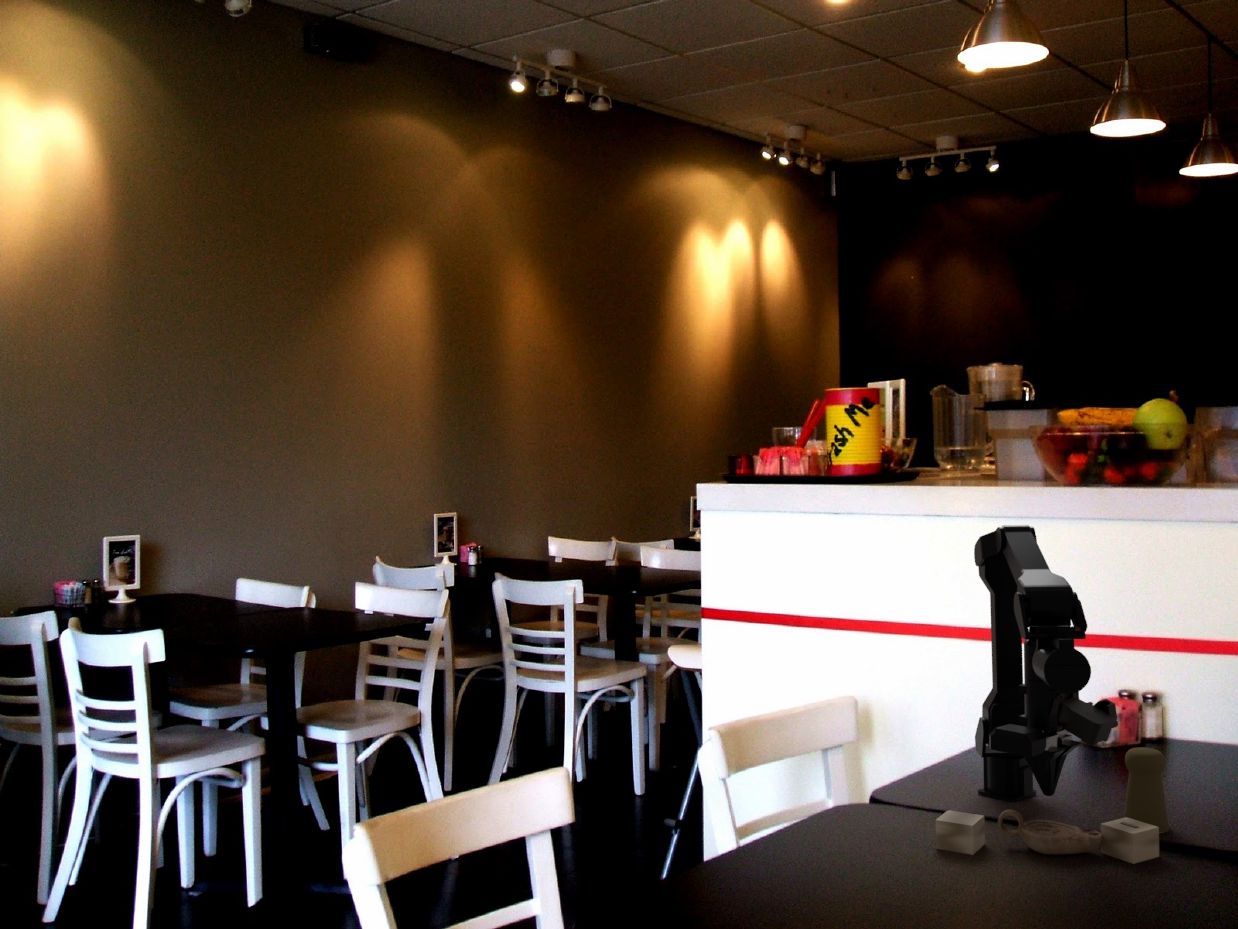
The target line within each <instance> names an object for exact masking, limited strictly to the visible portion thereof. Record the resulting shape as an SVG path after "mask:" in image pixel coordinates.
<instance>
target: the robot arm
mask: <svg viewBox="0 0 1238 929" xmlns="http://www.w3.org/2000/svg"><path fill="white" fill-rule="evenodd" d="M974 544H975V545H974V548H973V549H974V551H973V554H974V555H973V557H974V558H973V559H974V563H975V566H976V567H978V576H979V578H980V580H981V581H982V583H983V584H984V586H985V588H986V589H987V591H989V598H990V599H989V600H990V605H989V606H990V636H991V638H990V639H991V640H990V641H991V642H990V643H991V671H992V673H991V675H992V677H991V678H992V688H991V691H989V693H988V694H987V697H986V698H985V699H984V701H983V703H982V706H981V707H982V710H981V712H982V713H981V714H982V715H981V716H980V717H979V720H978V722H977V727H976V730H975V735H974V741H975V745H974V746H975V751H976V752H977V754H978V755H979V756H980V757H981V758H982V759H983V760H982V762H983V764H982V766H983V768H982V770H983V771H982V773H983V774H982V775H983V787H982V788H979V789H977V794H979V795H984V796H988V797H993V798H996V799H999V800H1005V801H1009V802H1017V801H1020V800H1022V799H1025V798H1029V797H1031V796H1033V795H1036V794H1037V790H1036V789H1034V778H1035V780H1036V783H1037V784H1038V786H1039V789H1040V790H1041V792H1042V795H1044V796H1046V797H1051V796H1052V797H1053V796H1054V795H1055V793H1056V789H1057V786H1058V783H1059V779H1060V777H1061V773H1062V770H1063V767H1064V764H1065V761H1066V759H1067V756H1068V755H1069V754H1070V753H1072V751H1074V750H1075V749H1076V748H1078V747H1080V746H1081V745H1082V743H1084V744H1086V745H1089V746H1095V745H1097V744H1099V743H1101V742H1107V741H1108V740H1109V737H1110V734H1111V731H1112V729H1115V728H1116V727H1119V722H1118V721H1117V720H1118V715H1117V714H1118V713H1117V708H1116V703H1115V702H1113V701H1111V700H1110V699H1108V698H1105V699H1101V700H1098V701H1097V702H1096V703H1094V702H1092V701H1088V702H1085V701H1084V700H1082V699H1080V695H1079V694H1080V691H1082V690H1083V689H1084V688H1085V687H1087V685H1088V684H1089V682H1090V679H1091V675H1092V666H1091V665H1090V662H1089V660H1088V659H1087V657H1086V655H1084V654H1083V653H1082V652H1081V651H1079V649H1076V648H1075V640H1086V635H1087V634H1086V632H1087V629H1088V622H1087V620H1086V616H1085V613H1084V608H1083V605H1082V602H1081V600H1080V599H1079V596H1078V593H1077V592H1076V591H1074V590H1073V587H1072V585H1070V583H1069V582H1068V581H1067V579H1066V578H1065V577H1063V576H1061V575H1059V574H1057V573H1054V572H1052V571H1051V568H1050V567H1049V565H1048V563H1047V560H1046V559H1045V557H1044V554H1043V553H1042V550H1041V549H1040V546H1039V544H1038V541H1037V535H1036V530H1035V527H1034V526H1032V525H1031V526H1030V525H1029V524H1003V525H1001V526H997V528H996V529H995V530H994V531H991V532H989V533H986V534H983V535H981V536H979V538H978V539H977V541H976V542H975V543H974ZM1023 640H1024V642H1023ZM1023 656H1024V657H1023ZM1023 665H1024V666H1023ZM1023 667H1024V668H1023ZM1023 669H1024V670H1023ZM1023 672H1024V673H1023ZM1073 736H1075V737H1077V738H1078V739H1079V740H1080V741H1078V740H1073Z"/></svg>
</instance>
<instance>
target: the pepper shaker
mask: <svg viewBox="0 0 1238 929" xmlns="http://www.w3.org/2000/svg"><path fill="white" fill-rule="evenodd" d="M1124 764H1125V766H1126V770H1128V780H1127V787H1126V788H1127V789H1126V794H1125V795H1126V796H1125V803H1124V810H1123V817H1122V818H1125V817H1127V818H1131V819H1134V820H1137V821H1140V822H1144V823H1147V824H1150V825H1154V826H1157V827H1159V832H1166V833H1168V832H1169V831H1170V825H1169V818H1168V813H1167V805H1166V799H1165V798H1166V797H1165V793H1164V786H1163V779H1162V773H1163V772H1164V771H1165V769H1166V768H1165V767H1166V759H1165V756H1164V754H1163V753H1162V752H1161V751H1159V750H1158V749H1155V748H1150V747H1141V746H1140V747H1133V748H1129V749H1128V751H1127V752H1126V753H1125V757H1124ZM1168 830H1169V831H1168ZM1167 831H1168V832H1167Z"/></svg>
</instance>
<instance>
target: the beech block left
mask: <svg viewBox="0 0 1238 929" xmlns="http://www.w3.org/2000/svg"><path fill="white" fill-rule="evenodd" d="M985 829H986V828H985V815H984V814H976V813H970V812H963V811H956V810H949V809H948V810H947V811H945V812H944V813H943V814H941V815H940V816H939V817H937V818H936V819H935V848H936V849H937V850H943V851H949V852H955V853H959V854H966V855H971V856H973V855H975V854H976V852H978V851H979V850H980V849H982V847H983V846H985V844H986V841H985V840H986V839H985V838H986V836H985V835H986V832H985Z"/></svg>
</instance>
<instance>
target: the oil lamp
mask: <svg viewBox="0 0 1238 929" xmlns="http://www.w3.org/2000/svg"><path fill="white" fill-rule="evenodd" d="M998 816H999V817H998V819H997V827H998V829H999V831H1000V832H1001V833H1002V834H1004V835H1006V836H1009V837H1020V838H1021V839H1022V841H1023V844H1025V846H1027V847H1028V848H1029V849H1030V850H1033V851H1035V852H1037V853H1039V854H1041V855H1059V856H1060V855H1076V854H1077V855H1078V854H1084V853H1088V852H1091V851H1093V850H1096V849H1097V848H1099V847H1100V846H1101V842H1102V836H1103V835H1102V834H1101V832H1099V831H1097V830H1096V829H1094V830H1090V831H1089V830H1084V829H1082V828H1080V827H1079V826H1076V825H1070V824H1068V823H1064V822H1062V821H1055V820H1048V819H1047V820H1046V819H1029V820H1026V821H1024V820H1023V816H1022V814H1021V813H1019V812H1018V811H1016V810H1014V809H1005V810H1003V811H1002V812H1000V814H999V815H998ZM1007 816H1012V817H1014V818H1015V819H1016V821H1017V822H1018V826H1017V828H1016V829H1010V828H1008V827H1006V826H1005V825H1004V821H1003V819H1004V818H1005V817H1007Z"/></svg>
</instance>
